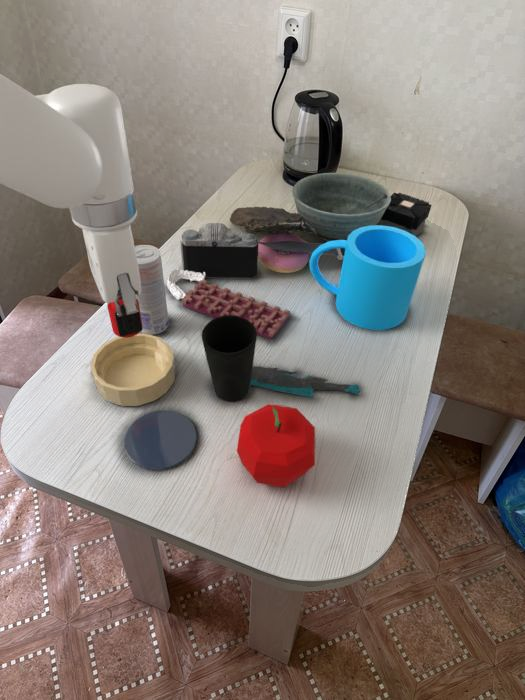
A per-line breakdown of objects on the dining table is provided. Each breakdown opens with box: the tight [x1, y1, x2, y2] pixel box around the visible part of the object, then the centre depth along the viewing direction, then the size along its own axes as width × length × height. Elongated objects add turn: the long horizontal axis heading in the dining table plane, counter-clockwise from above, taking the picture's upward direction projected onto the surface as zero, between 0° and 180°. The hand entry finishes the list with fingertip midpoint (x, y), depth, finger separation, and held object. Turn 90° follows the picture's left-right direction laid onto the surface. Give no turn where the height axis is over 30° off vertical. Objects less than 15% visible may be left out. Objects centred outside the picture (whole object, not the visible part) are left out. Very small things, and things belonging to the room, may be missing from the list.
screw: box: [364, 194, 388, 209], centre depth 103 cm, size 8×1×1 cm, turn 137°
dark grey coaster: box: [123, 409, 197, 471], centre depth 71 cm, size 10×10×1 cm
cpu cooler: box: [378, 192, 432, 237], centre depth 115 cm, size 10×6×10 cm
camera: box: [179, 222, 259, 280], centre depth 98 cm, size 15×7×10 cm, turn 92°
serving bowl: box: [90, 333, 176, 407], centre depth 78 cm, size 12×12×4 cm
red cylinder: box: [106, 298, 143, 338], centre depth 71 cm, size 4×4×6 cm
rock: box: [229, 206, 316, 235], centre depth 104 cm, size 25×4×15 cm
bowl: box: [291, 172, 391, 242], centre depth 110 cm, size 21×21×10 cm
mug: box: [308, 224, 426, 331], centre depth 91 cm, size 20×13×13 cm
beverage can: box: [134, 244, 170, 336], centre depth 83 cm, size 6×6×15 cm
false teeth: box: [166, 267, 206, 300], centre depth 96 cm, size 8×6×2 cm
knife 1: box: [258, 241, 345, 261], centre depth 101 cm, size 30×2×5 cm
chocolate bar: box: [182, 279, 291, 341], centre depth 92 cm, size 7×19×2 cm, turn 62°
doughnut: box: [258, 231, 311, 274], centre depth 103 cm, size 11×11×4 cm
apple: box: [236, 399, 316, 488], centre depth 66 cm, size 11×11×10 cm
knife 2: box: [250, 365, 362, 399], centre depth 80 cm, size 24×1×5 cm
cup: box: [201, 315, 258, 403], centre depth 74 cm, size 8×8×12 cm
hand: (126, 320), depth 72 cm, fingers closed on red cylinder, 4 cm apart
